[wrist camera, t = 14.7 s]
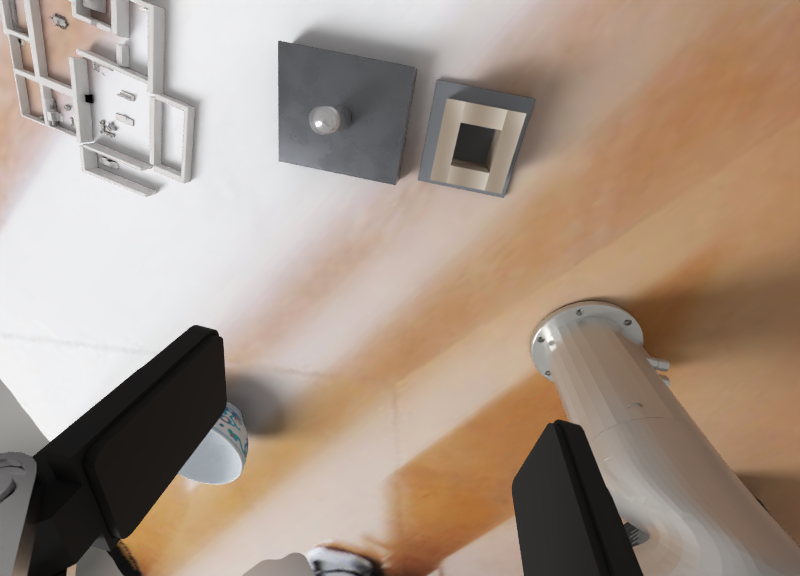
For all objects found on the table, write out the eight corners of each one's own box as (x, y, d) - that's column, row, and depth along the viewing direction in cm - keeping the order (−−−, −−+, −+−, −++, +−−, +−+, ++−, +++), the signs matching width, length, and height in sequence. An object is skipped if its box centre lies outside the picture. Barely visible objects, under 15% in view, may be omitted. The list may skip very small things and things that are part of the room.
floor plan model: (239, 225, 42) (229, 230, 40) (34, 142, 40) (15, 144, 38) (264, 50, 33) (254, 48, 31) (1, -66, 31) (-26, -76, 29)
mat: (534, 99, 31) (535, 99, 31) (503, 196, 36) (503, 197, 35) (437, 80, 32) (437, 79, 31) (418, 179, 36) (417, 180, 35)
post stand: (417, 69, 31) (407, 60, 24) (398, 180, 36) (386, 198, 29) (290, 44, 32) (244, 28, 25) (289, 157, 37) (250, 170, 30)
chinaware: (163, 392, 58) (125, 430, 51) (229, 370, 53) (197, 409, 47) (219, 449, 64) (191, 490, 57) (283, 434, 59) (261, 476, 52)
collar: (516, 112, 31) (526, 113, 27) (494, 182, 35) (501, 193, 30) (447, 98, 32) (446, 98, 27) (432, 169, 35) (430, 179, 30)
